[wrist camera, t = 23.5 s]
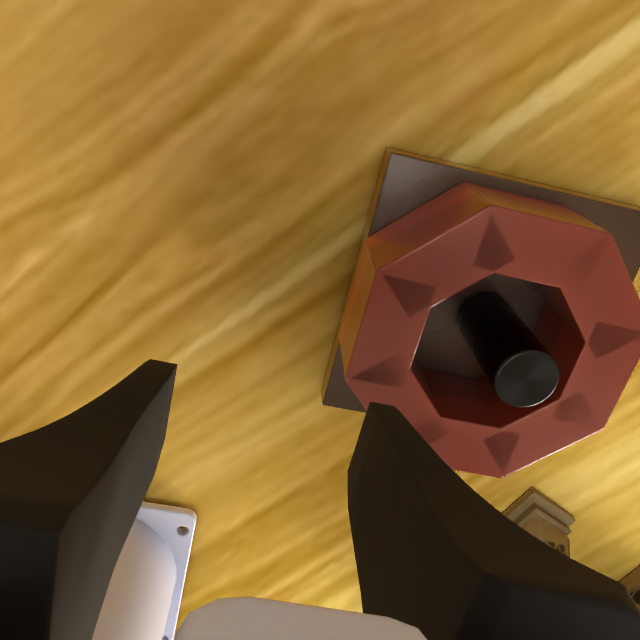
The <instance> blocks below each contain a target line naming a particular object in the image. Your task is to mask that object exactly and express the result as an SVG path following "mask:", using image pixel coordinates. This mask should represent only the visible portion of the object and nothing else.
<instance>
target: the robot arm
mask: <svg viewBox="0 0 640 640" xmlns="http://www.w3.org/2000/svg"><path fill="white" fill-rule="evenodd" d="M176 369H177V364H173V363H168V362H163V361H157V360H152V359H150V360H148V361H146V362H145V363H143V364H142V365H141V366H140V367H138V368H137V369H136V370H135V371H133V372H132V373H131V374H130V375H128V376H127V377H126V378H124V379H123V380H122V381H120V382H119V383H118V384H116V385H115V386H113V387H112V388H111V389H109V390H108V391H106V392H105V393H103V394H102V395H101V396H99V397H97V398H96V399H94V400H93V401H91V402H89V403H88V404H86V405H84V406H83V407H81V408H79V409H78V410H76V411H75V412H73V413H71V414H69V415H67V416H65V417H63V418H61V419H59V420H57V421H55V422H53V423H51V424H49V425H46V426H44V427H42V428H40V429H37V430H35V431H32V432H29V433H26V434H24V435H21V436H18V437H15V438H13V439H10V440H7V441H4V442H2V443H0V640H173V639H174V634H175V629H176V624H177V618H178V613H179V608H180V603H181V598H182V592H183V587H184V582H185V577H186V572H187V566H188V561H189V556H190V551H191V545H192V540H193V535H194V530H195V525H196V519H197V516H196V514H195V512H194V511H192V510H191V509H188V508H182V507H176V506H169V505H163V504H156V503H150V502H144V501H143V500H144V498H145V496H146V493H147V491H148V489H149V486H150V484H151V482H152V479H153V477H154V474H155V471H156V467H157V464H158V461H159V457H160V454H161V450H162V447H163V443H164V440H165V435H166V429H167V423H168V417H169V411H170V405H171V399H172V393H173V387H174V381H175V375H176ZM348 511H349V518H350V525H351V532H352V538H353V545H354V551H355V558H356V564H357V570H358V577H359V583H360V590H361V598H362V608H363V613H358V612H352V611H345V610H338V609H331V608H324V607H318V606H311V605H304V604H297V603H290V602H283V601H277V600H270V599H263V598H256V597H233V598H219V599H216V600H214V601H212V602H210V603H208V604H206V605H204V606H202V607H200V608H198V609H196V610H194V611H192V612H190V613H189V614H188V615H187V617H186V619H185V620H184V622H183V623H182V625H181V626H180V628H179V630H178V631H177V633H176V635H175V640H640V610H639V608H638V607H637V605H636V603H635V602H634V600H633V599H632V597H631V595H630V594H629V592H628V590H627V589H626V587H625V586H624V585H623V584H621V583H619V582H617V581H615V580H613V579H611V578H609V577H607V576H605V575H603V574H601V573H599V572H597V571H595V570H593V569H591V568H588V567H586V566H584V565H582V564H580V563H578V562H577V561H575V560H573V559H571V558H569V557H568V556H566V555H564V554H563V553H561V552H559V551H557V550H556V549H554V548H552V547H551V546H549V545H547V544H546V543H544V542H542V541H541V540H539V539H538V538H536V537H535V536H533V535H531V534H530V533H529V532H527V531H526V530H524V529H523V528H521V527H520V526H519V525H517V524H516V523H514V522H513V521H511V520H510V519H509V518H507V517H506V516H505V515H503V514H502V513H501V512H499V511H498V510H497V509H495V508H494V507H493V506H492V505H491V504H489V503H488V502H487V501H486V500H485V499H483V498H482V497H481V496H480V495H479V494H477V493H476V492H475V491H474V490H473V489H472V488H471V487H470V486H468V485H467V484H466V483H465V482H464V481H463V480H462V479H461V478H460V477H459V476H458V475H457V474H456V473H455V472H454V471H453V470H452V469H451V468H450V467H449V466H448V465H447V464H446V463H445V462H444V461H443V460H442V459H441V458H440V456H439V455H438V454H437V453H436V452H435V451H434V450H433V449H432V448H431V446H430V445H429V444H428V443H427V442H426V441H425V440H424V439H423V437H422V436H421V435H420V434H419V433H418V432H417V430H416V429H415V428H414V427H413V426H412V425H411V423H410V422H409V421H408V420H407V419H406V418H405V416H404V415H403V414H402V413H401V412H400V411H399V410H398V409H397V408H396V407H395V406H391V405H386V404H381V403H375V402H370V403H369V406H368V409H367V412H366V415H365V419H364V422H363V425H362V428H361V431H360V434H359V437H358V441H357V444H356V447H355V450H354V453H353V456H352V460H351V463H350V466H349V469H348ZM181 526H184V527H186V528H187V529H181V528H180V527H181Z"/></svg>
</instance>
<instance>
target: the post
mask: <svg viewBox="0 0 640 640" xmlns="http://www.w3.org/2000/svg"><path fill="white" fill-rule="evenodd" d="M463 182H468V183H472V184H476V185H480V186H484V187H489V188H493V189H497V190H501V191H505V192H509V193H513V194H517V195H521V196H525V197H529V198H534V199H538V200H542V201H546V202H550V203H554V204H558V205H562V206H565V207H567V208H569V209H570V210H572V211H574V212H575V213H577V214H579V215H581V216H582V217H584V218H586V219H587V220H589V221H591V222H592V223H594V224H596V225H598V226H599V227H601V228H603V229H604V230H606V231H608V232H609V233H611V234H612V235H613V238H614V240H615V243H616V245H617V247H618V250H619V252H620V254H621V257H622V259H623V262H624V264H625V266H626V269H627V271H628V273H629V276H630V278H631V280H632V283H633V281H634V279H635V276H636V274H637V272H638V270H639V268H640V207H638V206H634V205H630V204H626V203H622V202H617V201H613V200H609V199H605V198H600V197H596V196H592V195H588V194H584V193H579V192H575V191H571V190H567V189H562V188H558V187H554V186H550V185H546V184H541V183H537V182H533V181H529V180H524V179H520V178H516V177H512V176H508V175H503V174H499V173H495V172H491V171H486V170H482V169H478V168H474V167H470V166H465V165H461V164H457V163H453V162H448V161H444V160H440V159H436V158H431V157H427V156H423V155H419V154H415V153H410V152H406V151H402V150H398V149H393V148H389V147H387V148H386V149H385V153H384V157H383V160H382V164H381V168H380V172H379V175H378V179H377V183H376V187H375V190H374V194H373V198H372V202H371V205H370V209H369V213H368V217H367V220H366V224H365V228H364V232H363V235H362V239H361V243H360V247H359V250H358V254H357V258H356V262H355V265H354V269H353V273H352V277H351V280H350V284H349V288H348V292H347V295H346V299H345V303H344V307H343V310H342V314H341V318H340V322H339V325H338V329H337V333H336V337H335V340H334V344H333V348H332V352H331V355H330V359H329V363H328V367H327V370H326V374H325V378H324V382H323V385H322V403H323V405H327V406H332V407H338V408H343V409H349V410H355V411H360V412H367V411H366V409H365V408H364V407H363V405H362V404H361V402H360V401H359V399H358V398H357V396H356V395H355V393H354V392H353V391H352V389H351V388H350V386H349V385H348V383H347V382H346V380H345V375H344V368H343V361H342V354H341V347H340V340H339V330H340V326H341V323H342V319H343V316H344V312H345V309H346V305H347V301H348V298H349V294H350V291H351V287H352V284H353V280H354V276H355V273H356V269H357V266H358V262H359V259H360V255H361V251H362V248H363V244H364V241H365V240H366V239H367V238H368V237H370V236H371V235H373V234H375V233H376V232H378V231H380V230H381V229H383V228H385V227H386V226H388V225H390V224H392V223H393V222H395V221H397V220H398V219H400V218H402V217H403V216H405V215H407V214H408V213H410V212H412V211H414V210H415V209H417V208H419V207H420V206H422V205H424V204H425V203H427V202H429V201H430V200H432V199H434V198H436V197H437V196H439V195H441V194H442V193H444V192H446V191H447V190H449V189H451V188H452V187H454V186H456V185H458V184H459V183H463ZM546 303H547V302H546V300H545V298H544V296H543V294H542V292H541V290H540V288H539V286H538V284H537V283H535V282H530V281H526V280H521V279H517V278H512V277H508V276H504V275H499V274H495V273H493V274H491V275H489V276H488V277H486V278H484V279H482V280H480V281H479V282H477V283H475V284H473V285H471V286H469V287H468V288H466V289H464V290H462V291H460V292H459V293H457V294H455V295H453V296H451V297H450V298H448V299H446V300H444V301H442V302H441V303H439V304H437V305H435V306H433V307H432V308H431V309H430V312H429V315H428V317H427V320H426V323H425V326H424V329H423V332H422V335H421V338H420V341H419V344H418V347H417V350H416V353H415V356H414V357H415V359H416V360H417V362H418V363H419V365H420V367H421V368H422V369H424V370H429V371H434V372H439V373H444V374H449V375H454V376H458V377H463V378H468V379H473V380H476V379H477V378H479V377H481V376H483V375H486V377H487V379H488V380H489V382H490V384H491V386H492V387H493V389H494V391H495V393H496V394H497V396H498V397H499V398H500V399H501V400H502V401H503V402H504V403H506V404H508V405H511V406H514V407H530V406H534V405H537V404H539V403H541V402H543V401H544V400H546V399H547V398H548V397H549V396H550V395H551V394H552V393H553V392H554V390H555V389H556V387H557V384H558V381H559V367H558V364H557V362H556V361H555V359H554V358H553V357H552V356H551V354H550V353H549V352H548V351H547V350H546V348H545V347H544V346H543V345H542V344H541V342H540V341H539V340H538V339H537V337H536V336H535V335H534V331H535V329H536V326H537V324H538V322H539V319H540V317H541V315H542V312H543V310H544V307H545V305H546Z"/></svg>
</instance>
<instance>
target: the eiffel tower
mask: <svg viewBox="0 0 640 640" xmlns="http://www.w3.org/2000/svg"><path fill="white" fill-rule="evenodd" d="M502 514H503V515H505V516H506V517H507V518H509V519H510V520H511V521H513V522H514V523H516V524H517V525H519V526H520V527H521V528H523V529H524V530H526V531H527V532H529V533H530V534H531V535H533V536H535V537H536V538H538V539H539V540H541V541H542V542H544V543H546V544H547V545H549V546H551V547H552V548H554V549H556V550H557V551H559V552H561V553H563V554H564V555H566V556H568V557H569V558H570V550H569V539H568V537H567V535H568V534H569V533H570V532H571V530H570V529H569V527H568V526H570V525H571V524H572V523H573V522H574V521H575V519H574V517H573V516H572V515H571V514H569V513H568V512H567V511H565V510H564V509H562V508H561V507H559V506H558V505H556V504H555V503H554V502H552V501H551V500H549V499H548V498H546V497H545V496H544V495H542V494H541V493H539V492H538V491H536V490H535V489H533V488H530V489H529V490H528V491H527V492H526V493H525V494H524V495H523V496H521V497H520V498H519V499H518V500H517V501H516V502H515V503H514V504H512V505H511V506H510V507H509V508H508V509H507V510H506V511H505V512H503V513H502ZM619 583H621V584H623V585H624V586H625V587H626V589H627V590H628V592H629V594H630V595H631V597H632V599H633V600H634V602H635V603H636V605H637V607H638V608H639V610H640V566H639V567H638V568H637V569H635V570H634V571H633V572H631V573H630V574H629V575H628V576H626V577H625V578H624V579H622V580H621V581H620V582H619Z"/></svg>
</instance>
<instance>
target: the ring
mask: <svg viewBox="0 0 640 640" xmlns="http://www.w3.org/2000/svg"><path fill="white" fill-rule="evenodd" d="M493 273H495V274H499V275H504V276H508V277H512V278H517V279H521V280H526V281H530V282H535V283H537V284H538V286H539V288H540V290H541V292H542V294H543V296H544V298H545V300H546V302H547V303H546V305H545V307H544V310H543V312H542V315H541V317H540V319H539V322H538V324H537V326H536V329H535V331H534V335H535V336H536V337H537V339H538V340H539V341H540V342H541V344H542V345H543V346H544V347H545V348H546V350H547V351H548V352H549V353H550V354H551V356H552V357H553V358H554V359H555V361H556V362H557V364H558V367H559V381H558V384H557V387H556V389H555V390H554V392H553V393H552V394H551V395H550V396H549V397H548V398H547V399H546V400H544V401H543V402H541V403H539V404H537V405H534V406H530V407H514V406H511V405H508V404H506V403H504V402H503V401H502V400H501V399H500V398H499V397H498V396H497V394H496V393H495V391H494V389H493V387H492V386H491V384H490V382H489V380H488V379H487V377H486V375H483V376H481V377H479V378H477V379H476V380H473V379H468V378H463V377H458V376H454V375H449V374H444V373H439V372H434V371H429V370H424V369H422V368H421V367H420V365H419V363H418V362H417V360H416V359H415V357H414V356H415V353H416V350H417V347H418V344H419V341H420V338H421V335H422V332H423V329H424V326H425V323H426V320H427V317H428V315H429V312H430V309H431V308H432V307H433V306H435V305H437V304H439V303H441V302H442V301H444V300H446V299H448V298H450V297H451V296H453V295H455V294H457V293H459V292H460V291H462V290H464V289H466V288H468V287H469V286H471V285H473V284H475V283H477V282H479V281H480V280H482V279H484V278H486V277H488V276H489V275H491V274H493ZM339 340H340V347H341V354H342V361H343V368H344V375H345V380H346V382H347V383H348V385H349V386H350V388H351V389H352V391H353V392H354V393H355V395H356V396H357V398H358V399H359V401H360V402H361V404H362V405H363V407H364V408H365V409H366V411H367V409H368V406H369V403H370V402H375V403H381V404H386V405H391V406H395V407H396V408H397V409H398V410H399V411H400V412H401V413H402V414H403V415H404V416H405V418H406V419H407V420H408V421H409V422H410V423H411V425H412V426H413V427H414V428H415V429H416V430H417V432H418V433H419V434H420V435H421V436H422V437H423V439H424V440H425V441H426V442H427V443H428V444H429V445H430V446H431V448H432V449H433V450H434V451H435V452H436V453H437V454H438V455H439V456H440V458H441V459H442V460H443V461H444V462H445V463H446V464H447V465H448V466H449V467H450V468H451V469H454V470H459V471H465V472H470V473H476V474H481V475H487V476H492V477H498V478H502V477H506V476H508V475H510V474H512V473H514V472H516V471H518V470H520V469H522V468H524V467H526V466H529V465H531V464H533V463H535V462H537V461H539V460H541V459H543V458H545V457H547V456H549V455H551V454H553V453H555V452H557V451H560V450H562V449H564V448H566V447H568V446H570V445H572V444H574V443H576V442H578V441H580V440H582V439H584V438H586V437H588V436H591V435H593V434H595V433H597V432H599V431H601V430H602V429H604V427H605V425H606V424H607V422H608V420H609V418H610V416H611V414H612V412H613V410H614V408H615V406H616V404H617V402H618V400H619V398H620V396H621V394H622V392H623V390H624V388H625V386H626V384H627V382H628V380H629V378H630V376H631V374H632V372H633V370H634V368H635V366H636V364H637V362H638V360H639V358H640V299H639V297H638V295H637V292H636V290H635V288H634V285H633V283H632V280H631V278H630V276H629V273H628V271H627V269H626V266H625V264H624V262H623V259H622V257H621V254H620V252H619V250H618V247H617V245H616V243H615V240H614V238H613V235H612V234H611V233H609V232H608V231H606V230H604V229H603V228H601V227H599V226H598V225H596V224H594V223H592V222H591V221H589V220H587V219H586V218H584V217H582V216H581V215H579V214H577V213H575V212H574V211H572V210H570V209H569V208H567V207H565V206H562V205H558V204H554V203H550V202H546V201H542V200H538V199H534V198H529V197H525V196H521V195H517V194H513V193H509V192H505V191H501V190H497V189H493V188H489V187H484V186H480V185H476V184H472V183H468V182H463V183H459V184H458V185H456V186H454V187H452V188H451V189H449V190H447V191H446V192H444V193H442V194H441V195H439V196H437V197H436V198H434V199H432V200H430V201H429V202H427V203H425V204H424V205H422V206H420V207H419V208H417V209H415V210H414V211H412V212H410V213H408V214H407V215H405V216H403V217H402V218H400V219H398V220H397V221H395V222H393V223H392V224H390V225H388V226H386V227H385V228H383V229H381V230H380V231H378V232H376V233H375V234H373V235H371V236H370V237H368V238H367V239H366V240H365V241H364V244H363V248H362V251H361V255H360V259H359V262H358V266H357V269H356V273H355V276H354V280H353V284H352V287H351V291H350V294H349V298H348V301H347V305H346V309H345V312H344V316H343V319H342V323H341V326H340V330H339Z"/></svg>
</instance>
